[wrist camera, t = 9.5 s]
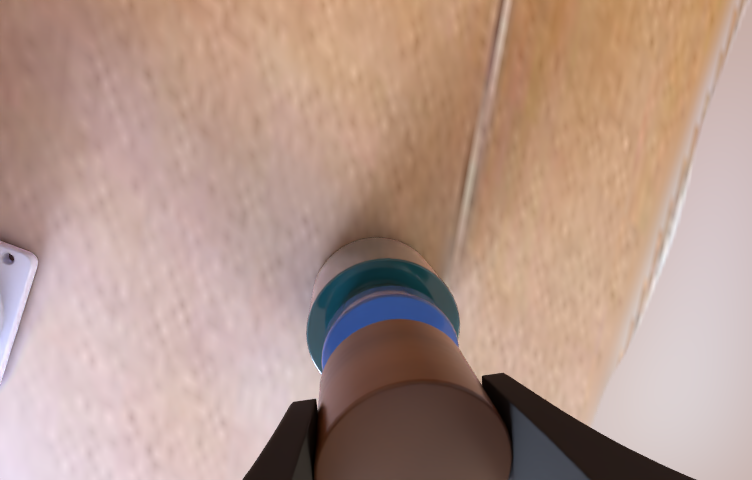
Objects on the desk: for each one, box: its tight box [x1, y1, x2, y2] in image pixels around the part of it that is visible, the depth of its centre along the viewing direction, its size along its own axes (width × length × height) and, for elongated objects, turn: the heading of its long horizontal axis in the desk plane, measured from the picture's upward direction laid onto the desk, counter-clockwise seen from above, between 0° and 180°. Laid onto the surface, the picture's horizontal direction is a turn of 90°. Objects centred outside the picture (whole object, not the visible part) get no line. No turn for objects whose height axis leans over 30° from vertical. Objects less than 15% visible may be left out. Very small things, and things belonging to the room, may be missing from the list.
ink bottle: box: [306, 237, 460, 375], centre depth 16 cm, size 6×6×6 cm
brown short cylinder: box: [313, 319, 512, 480], centre depth 10 cm, size 5×5×3 cm
